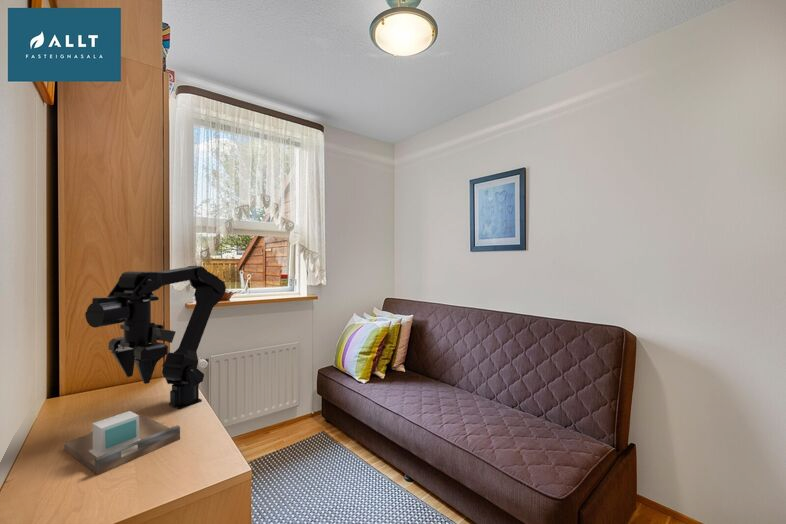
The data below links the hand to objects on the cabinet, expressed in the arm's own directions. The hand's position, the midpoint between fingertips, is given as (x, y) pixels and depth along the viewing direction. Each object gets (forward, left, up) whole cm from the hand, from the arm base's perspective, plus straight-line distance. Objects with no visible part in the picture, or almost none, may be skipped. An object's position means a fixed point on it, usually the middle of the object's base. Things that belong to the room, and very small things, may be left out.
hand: (138, 379), depth 89 cm
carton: (+8, +10, -10) cm, 17 cm away
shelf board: (+6, +7, -12) cm, 15 cm away
